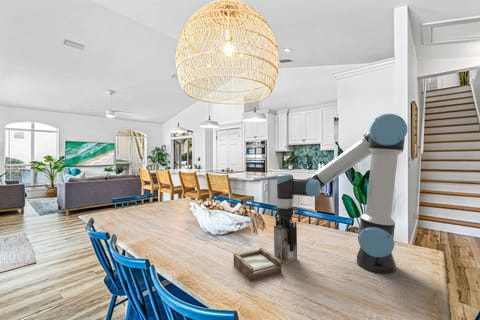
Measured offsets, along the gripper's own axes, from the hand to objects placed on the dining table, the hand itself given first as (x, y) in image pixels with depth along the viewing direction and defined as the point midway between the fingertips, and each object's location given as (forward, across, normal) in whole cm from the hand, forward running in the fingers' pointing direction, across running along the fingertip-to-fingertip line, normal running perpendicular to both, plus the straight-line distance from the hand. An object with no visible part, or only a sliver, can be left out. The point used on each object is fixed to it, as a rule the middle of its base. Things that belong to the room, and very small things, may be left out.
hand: (285, 254), depth 111 cm
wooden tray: (+2, -2, +17) cm, 17 cm away
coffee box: (+2, 0, 0) cm, 2 cm away
